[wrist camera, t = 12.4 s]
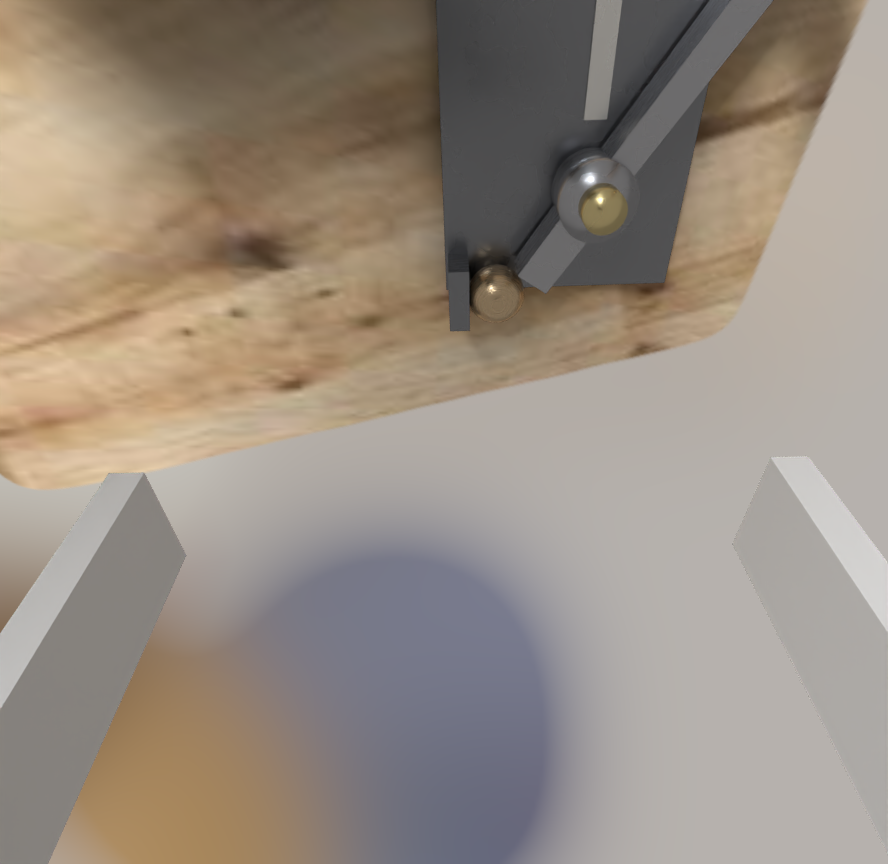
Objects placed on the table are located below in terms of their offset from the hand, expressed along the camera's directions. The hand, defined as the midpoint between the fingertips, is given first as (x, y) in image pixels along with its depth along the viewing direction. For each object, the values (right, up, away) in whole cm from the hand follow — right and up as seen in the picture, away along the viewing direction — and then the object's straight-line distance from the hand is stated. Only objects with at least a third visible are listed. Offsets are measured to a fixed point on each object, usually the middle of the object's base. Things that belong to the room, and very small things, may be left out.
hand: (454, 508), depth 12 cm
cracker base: (+8, +21, +24) cm, 33 cm away
